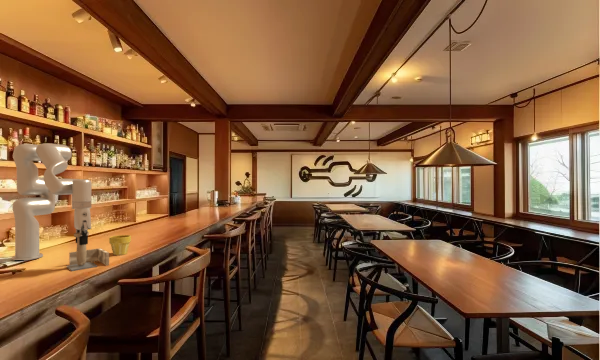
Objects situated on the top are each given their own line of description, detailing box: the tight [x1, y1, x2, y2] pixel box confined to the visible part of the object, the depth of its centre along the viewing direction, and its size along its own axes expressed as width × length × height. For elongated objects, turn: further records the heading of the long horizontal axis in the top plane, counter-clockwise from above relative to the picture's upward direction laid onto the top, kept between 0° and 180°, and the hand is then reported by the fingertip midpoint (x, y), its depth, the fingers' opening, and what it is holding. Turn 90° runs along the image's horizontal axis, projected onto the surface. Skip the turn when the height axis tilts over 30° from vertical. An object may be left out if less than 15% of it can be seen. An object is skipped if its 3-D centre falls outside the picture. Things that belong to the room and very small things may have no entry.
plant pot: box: [108, 234, 132, 256], centre depth 171 cm, size 10×10×10 cm
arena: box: [68, 247, 110, 267], centre depth 148 cm, size 15×13×6 cm
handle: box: [73, 231, 90, 265], centre depth 145 cm, size 5×6×15 cm
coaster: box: [66, 261, 98, 272], centre depth 145 cm, size 10×10×1 cm
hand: (81, 243), depth 145 cm, fingers closed on handle, 6 cm apart
